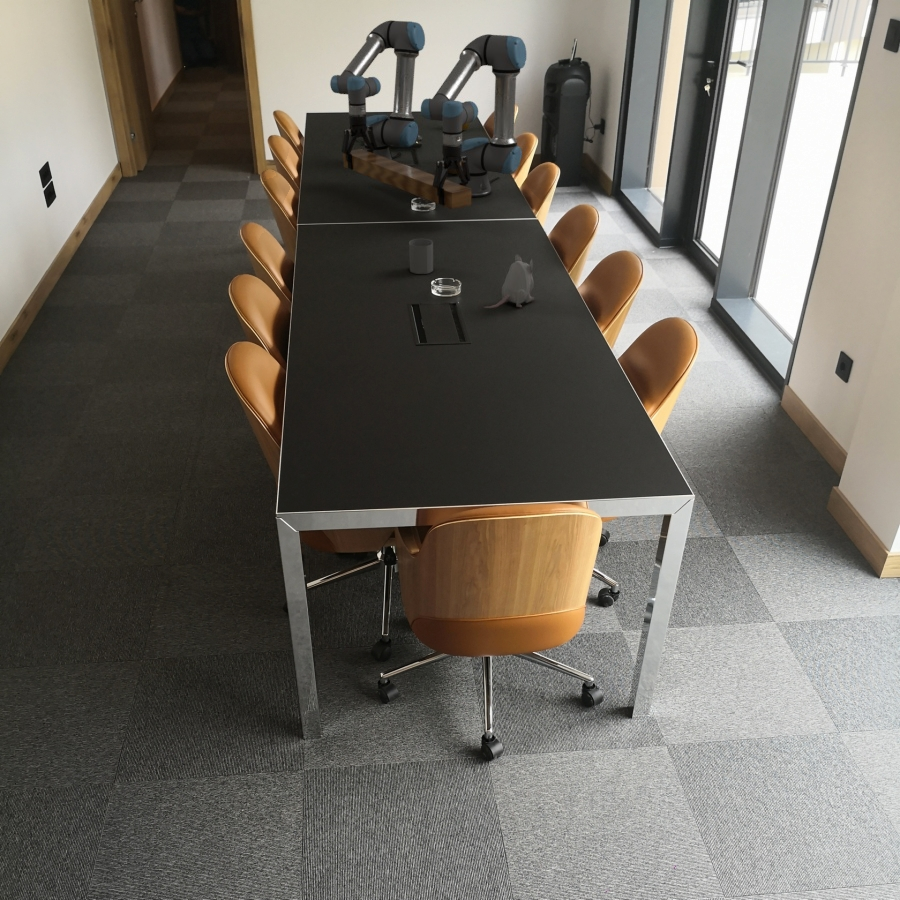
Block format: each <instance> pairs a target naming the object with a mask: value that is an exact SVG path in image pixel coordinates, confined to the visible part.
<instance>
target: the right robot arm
mask: <svg viewBox="0 0 900 900" xmlns="http://www.w3.org/2000/svg"><path fill="white" fill-rule="evenodd" d="M526 61H527V47H526V44H525V42H524V40H523V39H522V38H521V37H519V36H514V35H505V34H504V35H503V34H483V35H480V36H478V37H476V38H475V39H472V41H470V42H468V44H466V46H465V47H464V48H463V49H462V50H461V52H460V54H459V60H458V61H457V63H456V64H455V65H454V67H453V68H452V69H451V71H450V73H448V74H447V75H448V76H447V77H446V78H445V79H444V81H443V83H441V86H440V87H439V89H438V90H437V91H436V93H435V94H434V95H433V97H432V98H430V97H429V98H425V99H423V100H422V102H421V104H420V113H421V116H422V117H423V119H425V120H430V121H439V122H442V136H441V137H442V138H441V139H442V140H441V141H442V142H441V143H442V150H441V151H442V152H441V153H442V159H441V160H436V162H435V172H434V175H435V177H434V181H433V187H436V188H437V196H438V197H439V204H440V206H442V205H444V188H443V185H444V183H445V180H447V178H448V175H449V174H450V173H449V172H450V170H453V169H456V172H457V174H456V175H457V176H458V178H459V180H458V183H457V184H460V185H463V186H465V187H468V188H471V198H481V197H482V198H483V197H486V196H489V195H490V194H491V193H492V186H491V184H492V183H493V182H494V181H496V180H498V179H500V176H496V177H495V178H493V179H491V180H489V177H488V172H492V173H499V174H502V175H504V174H507V175H512V174H514V173H516V171H517V170H518V168H519V167H520V164H521V162H522V161H521V160H522V154H523V151H522V148H521V147H520V146H518V140H517V139H516V138H515V116H516V115H515V114H516V93H517V92H516V91H517V76H518V75H519V74H521V69H523V68H525V65H526ZM484 66H485V67H486V66H487V67H491V73H492V74H493V75H494V77H495V82H494V109H493V111H494V113H493V114H494V115H493V136H492V138H490V139H489V138H487V137H473V138H467V139H465V140H464V141H463V131H462V125H464V124H467V123H470V124H471V123H472V122H473V121H475V120H476V119H477V118H478V115H479V107H478V106H477V104H476V103H475V102H473V101H471V100H467V101H464V102H462V101H459V100H456V99H457V98H458V96H459V95H460V93H461V92H462V90H463V88H465V86H466V85H467V83H468V82H469V80H470V79H471V77H472V76H473V74H474V72H477V71H479V70H480V68H481V67H484ZM460 162H461V165H460ZM446 168H447V169H446ZM439 204H438V205H439Z"/></svg>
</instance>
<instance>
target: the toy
mask: <svg viewBox="0 0 900 900" xmlns="http://www.w3.org/2000/svg"><path fill="white" fill-rule="evenodd" d="M533 262H534V261H533V259H531V260H530V262H529V263H527V262H523V259H522V257H521V256H520V255H519V254H518V253H515V256H514V262H513V263H511V265H510V266H509V268H508V271H507V273H506V276H505V279H504V282H503V284H502V285H501V286H502V287H501V296H502V297H501V300H500V301H498V302H497V303H496V304H494V305H490V306H483V308H485V309H496V308H498V307H500V306H501V305H503V304H504V303H508V302H511V303H513V304H515V305H516V306H515V307H517V308H523V305H521V304H522V303H525V304H527V303H530V302H534V301H535V297H534V296H531V294H532V292H533V290H534V287H535V283H534V282H535V281H534V278H533V272H534V263H533Z"/></svg>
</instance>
